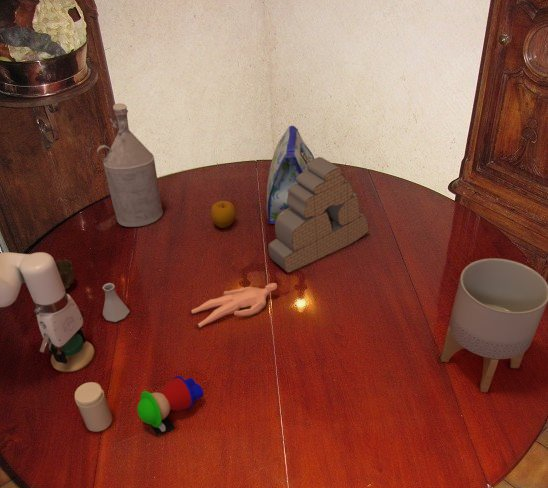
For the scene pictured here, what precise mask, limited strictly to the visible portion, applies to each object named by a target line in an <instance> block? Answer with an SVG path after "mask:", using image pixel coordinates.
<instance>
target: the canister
mask: <svg viewBox="0 0 548 488" xmlns="http://www.w3.org/2000/svg"><path fill="white" fill-rule="evenodd" d="M112 109H113V111H114V115H115V118H116V119H114V120H113V118H109V120H110V122H111V123H112V128H114V129H115V130H117V129H118V132H117V134H116V135H115V139H114V140H113V142H112V143H111V144H112V145H111V146H110V147H109V146H108V145H106V144H101V145H99V146H98V147H97V149H96V153H97V154H96V155H97V158H99V159H100V160H103V161H102V164H103V168H104V172H105V177H106V182H107V187H108V190H109V194H110V199H111V201H112V208H113V211H114V214H115V218H116V222H117V223H118V224H119V225H120V226H123V227H126V228H137V227H144V226H148V225H150V224H153V223H155V222H157V221H158V220H160V218H161V217H162V216H163V213H164V210H163V206H162V200H161V199H162V198H161V192H160V186H159V182H158V181H159V180H158V175H157V168H156V162H155V156H154V154H153V153H152V152H151V151H150V149H148V148H147V147H146V146H145V144H143V143H142V142H141V140H139V138H138V137H137V136H135V134H134V133H132V131H131V130H130V128H129V120H128V112H129V110H128V106H127V105H126V104H124V103H120V102H119V103H114V104H113V105H112ZM104 148H105V149H108V152H107V154H106V156H105V157H101V156H99V151H100V150H101V149H104Z"/></svg>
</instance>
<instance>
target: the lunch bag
mask: <svg viewBox="0 0 548 488" xmlns="http://www.w3.org/2000/svg"><path fill="white" fill-rule="evenodd" d="M313 159H315V156H314V155H313V153H312V151H311V150H310V149H309V147H308V146H307V144H306V143H305V141H304V140H303V137H302V136H301V133H300V132H299V129H298V128H297V127H296V126H295V125H289V126H288V128H287V129H286V130H285V132H284V133H283V135H282V136H281V138H280V139H279V141H278V143H277V145H276V147H275V149H274V152H273V157H272V159H271V163H270V167H269V172H268V178H267V186H266V216H267V217H266V218H267V222H268V224H272V225H273V224H274V225H275V223H276V219H277V217H278V216H279V215H280V214H281V213H282V212H284V211H285V210H286V209H288V208H290V206H288V205H287V198H288V190H289V188H290V187H291V186H292V185H294V184H297V183H298V182H297V181H296V177H297V176H298V175H299V174H301V173H302V172H305V171H307V163H308V162H310V161H311V160H313Z"/></svg>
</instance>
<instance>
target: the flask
mask: <svg viewBox="0 0 548 488" xmlns="http://www.w3.org/2000/svg"><path fill="white" fill-rule="evenodd" d="M102 290H103V291H104V304H103V309H102V316H103V318H104V319H105V321H109V322H113V323H116V322H118V321H121V320H124V319H125V318H126V317H127V316H128V315H129V313H130V312H131V310H130V309H129V308H128V306H127V305H126V304H125V303H124V302H123V301H122V299H121V298H120V297H119V295H118V294H117V292H116V285H115V284H114V283H112V282H107V283H105V284H104V285H103V286H102Z"/></svg>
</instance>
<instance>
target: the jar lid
mask: <svg viewBox="0 0 548 488" xmlns="http://www.w3.org/2000/svg"><path fill="white" fill-rule="evenodd" d="M83 345H84V342H83V339H82V336H81V335H80V334H79V333H75V334H74V335H73V336H72V337H71V338H70V339H69V340H68V341H67V342H66V343H65V344H64V345H63V346H61V351H63V352H64V354H65V356H71V355H74V354H76V353H78V352H79V351H80V350H81V349H82V348H83ZM54 348H56V346H55V345H54Z"/></svg>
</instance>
